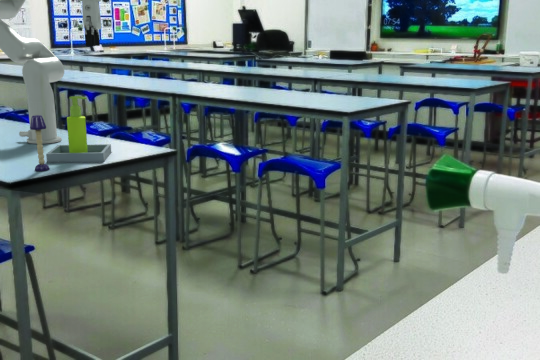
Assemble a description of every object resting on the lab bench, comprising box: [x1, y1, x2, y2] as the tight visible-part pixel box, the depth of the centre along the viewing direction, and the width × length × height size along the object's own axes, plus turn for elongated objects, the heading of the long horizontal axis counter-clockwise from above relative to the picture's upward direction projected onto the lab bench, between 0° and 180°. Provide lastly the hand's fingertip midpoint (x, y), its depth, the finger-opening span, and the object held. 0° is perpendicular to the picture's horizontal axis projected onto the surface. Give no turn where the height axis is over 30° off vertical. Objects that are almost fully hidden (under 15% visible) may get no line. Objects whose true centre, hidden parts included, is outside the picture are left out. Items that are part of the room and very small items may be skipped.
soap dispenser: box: [66, 95, 88, 153], centre depth 200 cm, size 6×7×20 cm
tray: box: [45, 143, 112, 164], centre depth 202 cm, size 18×16×3 cm
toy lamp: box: [29, 115, 50, 172], centre depth 183 cm, size 5×5×17 cm
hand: (92, 46), depth 219 cm, fingers open, 9 cm apart
